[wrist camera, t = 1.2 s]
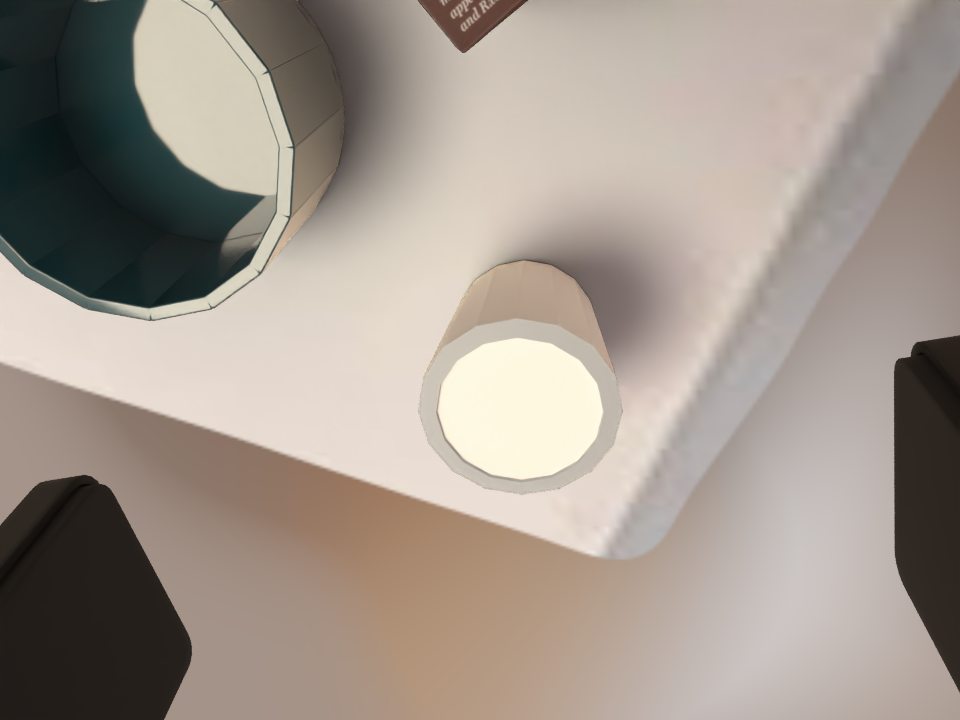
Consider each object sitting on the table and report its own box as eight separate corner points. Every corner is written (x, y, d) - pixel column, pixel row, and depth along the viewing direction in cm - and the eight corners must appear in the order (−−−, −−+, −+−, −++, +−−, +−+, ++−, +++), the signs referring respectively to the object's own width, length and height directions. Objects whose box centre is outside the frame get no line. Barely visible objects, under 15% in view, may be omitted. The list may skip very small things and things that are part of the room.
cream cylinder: (447, 398, 36) (425, 496, 30) (436, 246, 33) (409, 320, 27) (608, 397, 35) (619, 497, 29) (612, 243, 32) (626, 319, 26)
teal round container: (-1, -15, 30) (-147, 0, 24) (288, -97, 28) (211, -104, 22) (127, 269, 34) (33, 344, 28) (380, 216, 33) (340, 284, 26)
